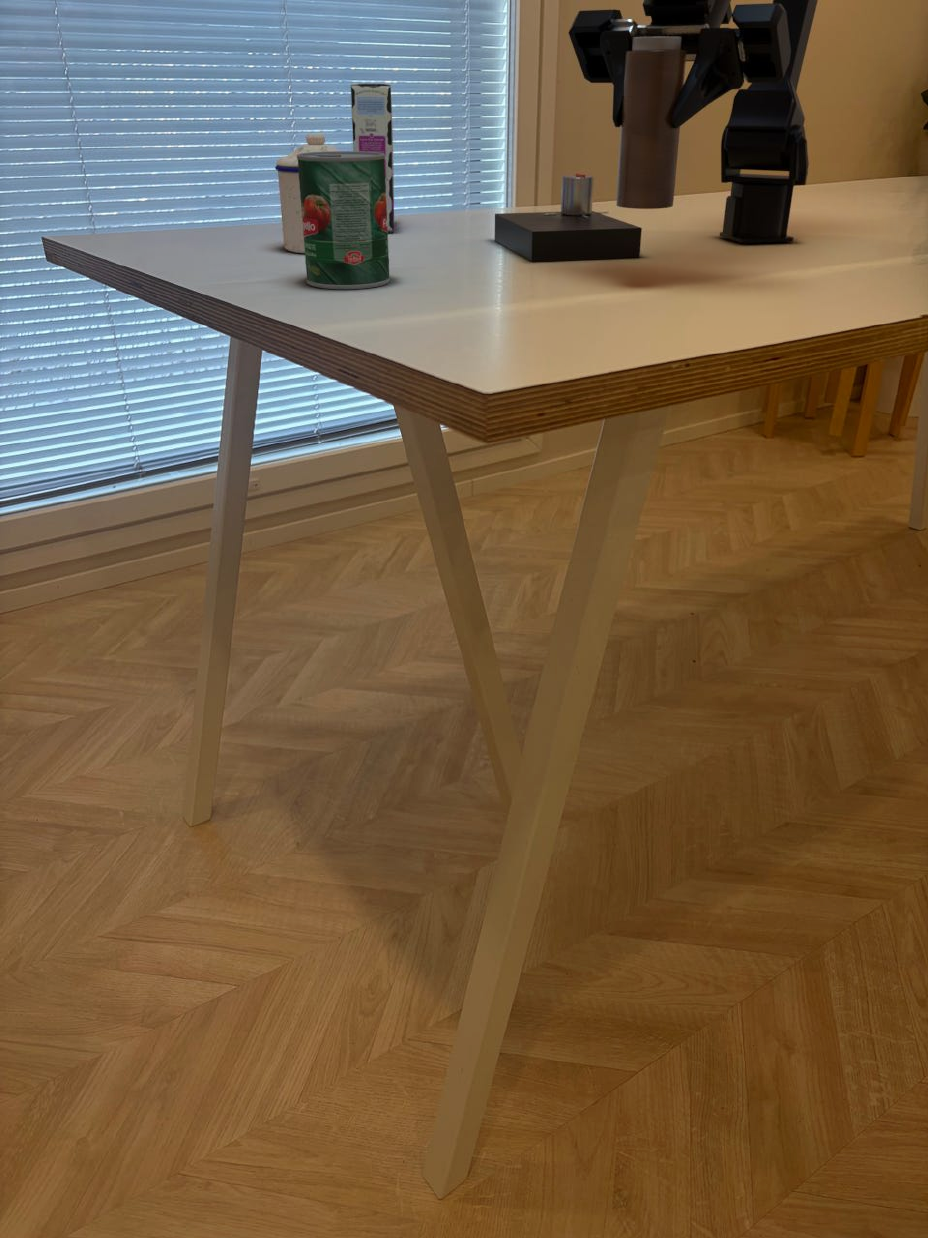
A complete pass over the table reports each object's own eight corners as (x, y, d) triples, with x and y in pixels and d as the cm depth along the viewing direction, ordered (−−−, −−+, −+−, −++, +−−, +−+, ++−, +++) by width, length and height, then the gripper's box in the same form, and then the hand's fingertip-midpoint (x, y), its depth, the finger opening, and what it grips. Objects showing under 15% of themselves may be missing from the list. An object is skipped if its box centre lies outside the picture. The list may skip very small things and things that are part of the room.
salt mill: (659, 201, 91) (673, 37, 85) (681, 207, 87) (697, 35, 81) (608, 203, 90) (618, 37, 84) (628, 209, 86) (639, 35, 80)
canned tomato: (407, 281, 94) (403, 153, 89) (341, 292, 89) (333, 157, 84) (354, 271, 99) (348, 149, 94) (289, 281, 94) (278, 153, 89)
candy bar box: (396, 233, 123) (391, 83, 115) (356, 233, 123) (348, 83, 115) (394, 221, 133) (389, 82, 125) (357, 222, 133) (350, 83, 125)
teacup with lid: (357, 254, 108) (350, 136, 103) (274, 254, 109) (263, 136, 103) (371, 239, 119) (366, 130, 113) (296, 238, 119) (287, 130, 114)
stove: (595, 235, 121) (597, 207, 119) (647, 257, 106) (650, 225, 105) (492, 239, 118) (492, 211, 117) (531, 261, 104) (532, 229, 102)
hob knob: (556, 212, 116) (558, 172, 114) (585, 211, 117) (587, 171, 115) (566, 215, 113) (567, 174, 111) (596, 214, 114) (598, 174, 112)
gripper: (583, -100, 85) (516, 47, 82) (803, -121, 76) (736, 43, 73) (616, 12, 94) (557, 147, 92) (814, 5, 86) (755, 154, 83)
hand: (643, 123), depth 85 cm, fingers closed on salt mill, 5 cm apart
